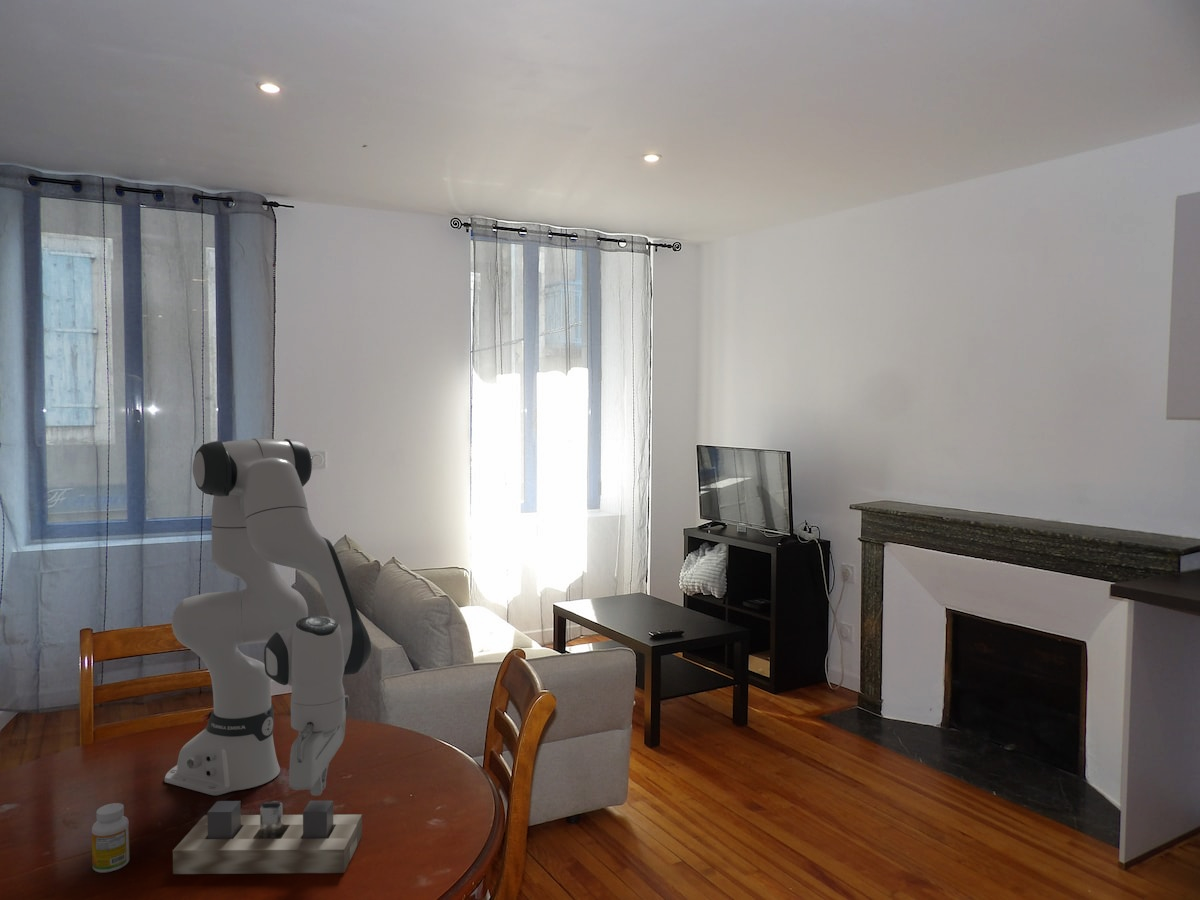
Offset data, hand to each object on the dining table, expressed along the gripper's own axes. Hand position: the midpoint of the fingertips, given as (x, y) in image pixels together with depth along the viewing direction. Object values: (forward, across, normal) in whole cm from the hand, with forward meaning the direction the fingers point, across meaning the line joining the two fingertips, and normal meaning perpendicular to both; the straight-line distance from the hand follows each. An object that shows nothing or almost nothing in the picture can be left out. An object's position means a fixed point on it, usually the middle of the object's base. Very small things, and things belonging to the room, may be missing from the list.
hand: (318, 791), depth 145 cm
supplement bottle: (+11, -3, +34) cm, 36 cm away
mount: (+11, 0, +8) cm, 14 cm away
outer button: (+8, 0, 0) cm, 8 cm away
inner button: (+7, 0, +16) cm, 18 cm away
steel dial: (+7, 0, +8) cm, 11 cm away
